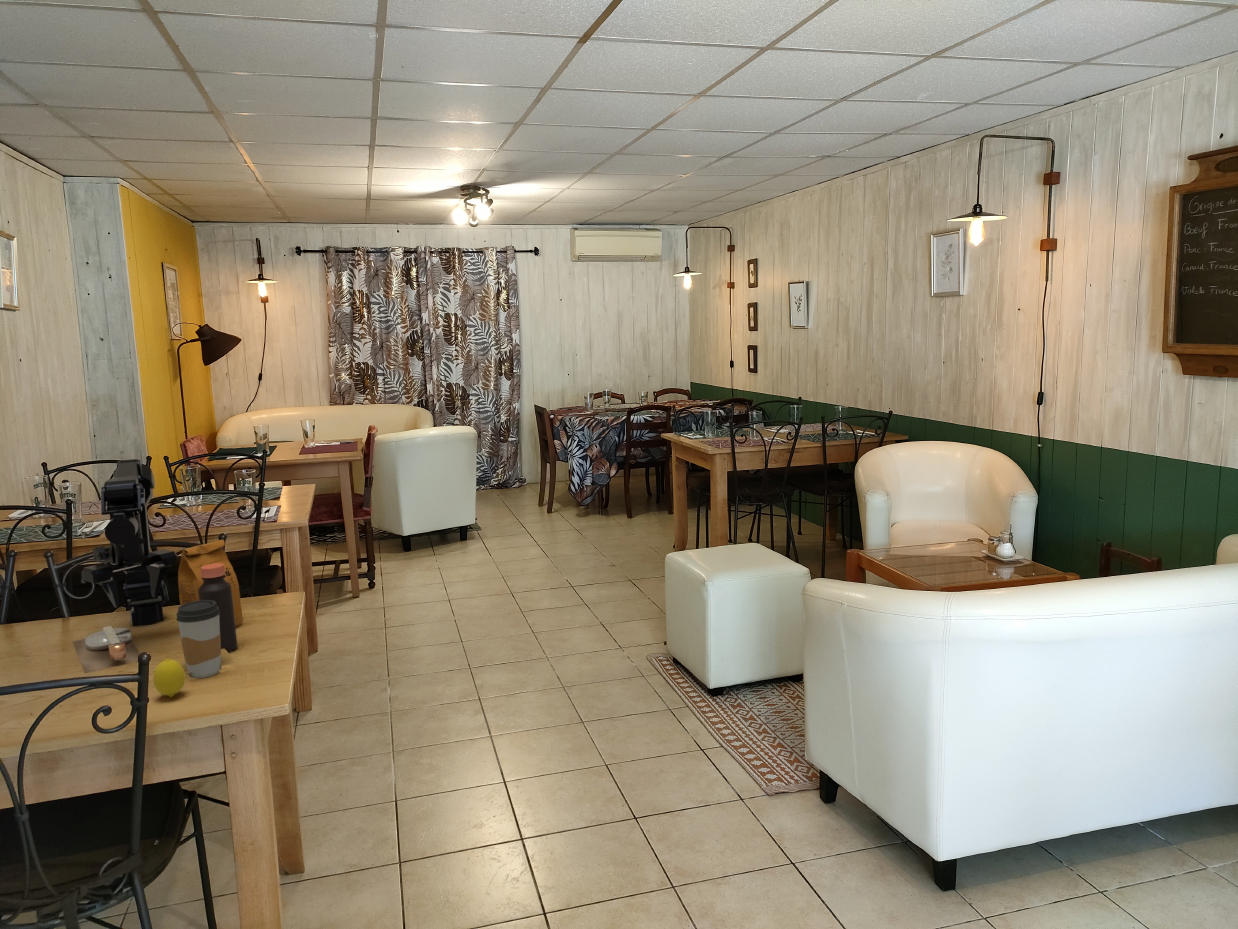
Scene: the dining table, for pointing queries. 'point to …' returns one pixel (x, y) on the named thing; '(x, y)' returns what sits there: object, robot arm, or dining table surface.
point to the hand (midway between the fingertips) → (135, 602)
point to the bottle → (220, 602)
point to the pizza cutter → (110, 641)
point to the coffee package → (192, 574)
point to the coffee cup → (200, 637)
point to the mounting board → (102, 656)
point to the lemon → (169, 677)
